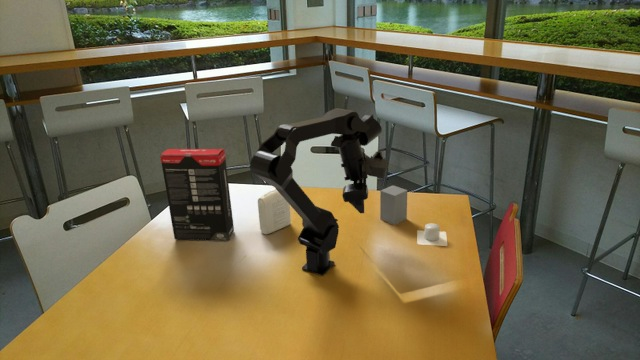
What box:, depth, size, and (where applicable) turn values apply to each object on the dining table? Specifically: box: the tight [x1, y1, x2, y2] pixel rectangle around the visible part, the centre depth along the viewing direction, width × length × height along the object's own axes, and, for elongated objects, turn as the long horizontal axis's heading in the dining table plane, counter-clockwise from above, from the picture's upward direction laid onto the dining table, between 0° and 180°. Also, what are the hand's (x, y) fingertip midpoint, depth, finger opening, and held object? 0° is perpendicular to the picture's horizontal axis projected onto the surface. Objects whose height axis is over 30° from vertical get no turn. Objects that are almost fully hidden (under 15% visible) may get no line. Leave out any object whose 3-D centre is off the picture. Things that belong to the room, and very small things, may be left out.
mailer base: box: [416, 222, 448, 247], centre depth 133 cm, size 8×8×5 cm
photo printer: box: [257, 188, 292, 235], centre depth 144 cm, size 10×4×12 cm, turn 134°
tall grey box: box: [379, 185, 408, 226], centre depth 143 cm, size 6×6×11 cm
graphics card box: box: [159, 148, 235, 242], centre depth 138 cm, size 17×7×27 cm, turn 84°
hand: (363, 203), depth 132 cm, fingers open, 9 cm apart
